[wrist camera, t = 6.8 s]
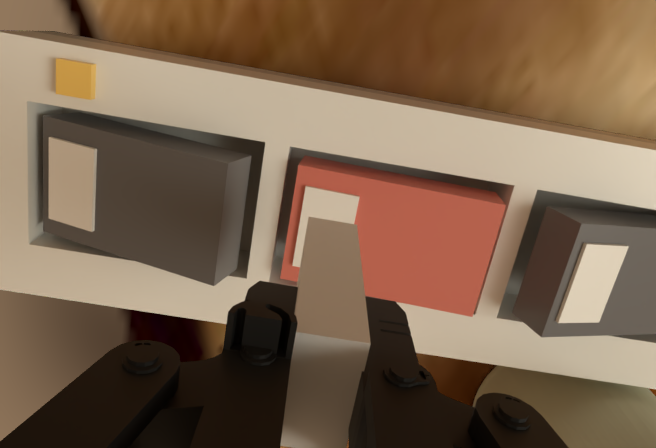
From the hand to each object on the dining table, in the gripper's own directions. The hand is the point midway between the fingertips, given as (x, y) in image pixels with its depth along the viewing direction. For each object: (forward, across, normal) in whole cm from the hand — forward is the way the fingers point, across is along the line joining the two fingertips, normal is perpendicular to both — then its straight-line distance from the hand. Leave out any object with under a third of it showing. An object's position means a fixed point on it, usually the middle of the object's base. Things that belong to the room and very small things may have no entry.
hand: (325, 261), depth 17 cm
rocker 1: (+4, -7, 0) cm, 8 cm away
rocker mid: (+4, +2, 0) cm, 5 cm away
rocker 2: (+4, +12, 0) cm, 13 cm away
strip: (+9, +6, 0) cm, 11 cm away
